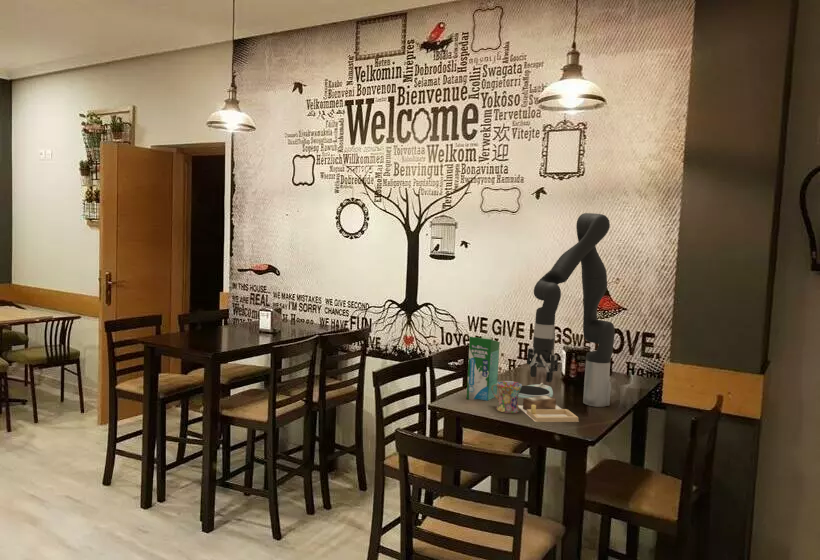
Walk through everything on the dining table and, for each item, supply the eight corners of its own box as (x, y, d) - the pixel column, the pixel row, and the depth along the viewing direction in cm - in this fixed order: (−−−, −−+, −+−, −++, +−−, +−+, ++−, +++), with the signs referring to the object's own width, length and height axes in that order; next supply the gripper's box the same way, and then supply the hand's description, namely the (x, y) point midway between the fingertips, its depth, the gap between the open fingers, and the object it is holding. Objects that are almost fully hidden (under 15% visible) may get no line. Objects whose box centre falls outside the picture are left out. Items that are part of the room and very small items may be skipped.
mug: (524, 412, 236) (526, 384, 235) (513, 417, 228) (514, 388, 227) (496, 405, 243) (498, 378, 242) (484, 410, 236) (485, 382, 235)
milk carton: (496, 398, 253) (500, 336, 251) (487, 403, 246) (490, 339, 243) (475, 394, 258) (479, 333, 256) (466, 399, 250) (469, 336, 248)
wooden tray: (556, 407, 243) (557, 393, 243) (578, 424, 224) (579, 409, 223) (516, 408, 241) (517, 393, 240) (535, 424, 221) (536, 409, 220)
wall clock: (565, 384, 267) (543, 396, 246) (565, 393, 267) (543, 406, 246) (526, 377, 276) (502, 388, 256) (526, 386, 277) (501, 397, 256)
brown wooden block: (545, 405, 242) (546, 394, 241) (555, 409, 237) (556, 398, 237) (522, 408, 236) (523, 397, 236) (532, 412, 232) (533, 401, 231)
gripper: (523, 333, 239) (520, 375, 240) (549, 339, 226) (546, 384, 227) (538, 332, 242) (535, 374, 244) (565, 338, 230) (562, 383, 231)
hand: (540, 379), depth 235 cm, fingers open, 8 cm apart
